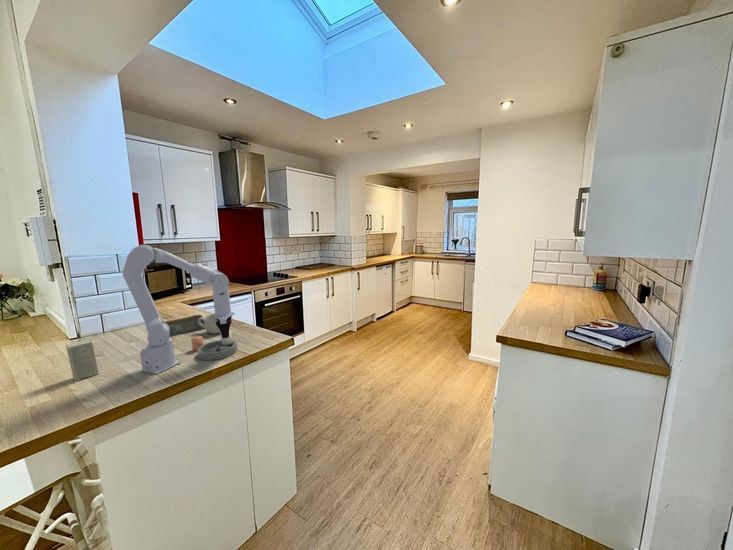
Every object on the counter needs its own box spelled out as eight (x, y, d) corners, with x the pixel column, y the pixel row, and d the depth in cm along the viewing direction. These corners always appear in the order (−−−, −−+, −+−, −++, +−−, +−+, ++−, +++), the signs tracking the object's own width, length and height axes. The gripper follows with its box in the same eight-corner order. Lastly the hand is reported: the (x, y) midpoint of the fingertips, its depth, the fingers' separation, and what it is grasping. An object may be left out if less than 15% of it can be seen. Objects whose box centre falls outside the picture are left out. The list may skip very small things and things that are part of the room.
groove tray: (217, 362, 108) (216, 355, 108) (189, 357, 113) (189, 350, 113) (245, 348, 121) (244, 341, 121) (219, 344, 126) (218, 337, 126)
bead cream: (226, 345, 115) (225, 333, 114) (219, 344, 117) (217, 332, 116) (234, 341, 119) (233, 330, 118) (227, 340, 120) (225, 328, 120)
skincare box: (96, 370, 104) (90, 338, 102) (99, 374, 102) (93, 341, 100) (72, 378, 100) (65, 344, 98) (74, 382, 97) (66, 347, 95)
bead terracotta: (197, 352, 118) (196, 340, 118) (190, 350, 120) (189, 339, 119) (206, 348, 122) (204, 336, 121) (199, 346, 124) (197, 335, 123)
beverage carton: (158, 334, 140) (156, 321, 139) (202, 325, 152) (201, 313, 151) (159, 339, 134) (157, 325, 133) (206, 329, 146) (204, 316, 145)
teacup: (234, 328, 146) (232, 312, 145) (221, 336, 135) (219, 319, 134) (208, 327, 147) (206, 312, 146) (193, 335, 137) (191, 319, 136)
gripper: (233, 306, 110) (236, 340, 112) (233, 298, 123) (236, 328, 125) (212, 308, 107) (216, 343, 110) (214, 300, 120) (218, 331, 123)
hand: (225, 336), depth 117 cm, fingers closed on bead cream, 4 cm apart
